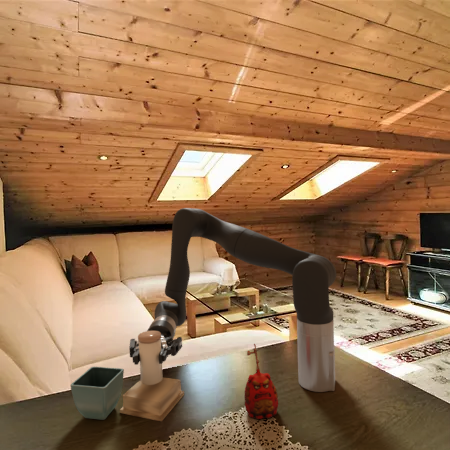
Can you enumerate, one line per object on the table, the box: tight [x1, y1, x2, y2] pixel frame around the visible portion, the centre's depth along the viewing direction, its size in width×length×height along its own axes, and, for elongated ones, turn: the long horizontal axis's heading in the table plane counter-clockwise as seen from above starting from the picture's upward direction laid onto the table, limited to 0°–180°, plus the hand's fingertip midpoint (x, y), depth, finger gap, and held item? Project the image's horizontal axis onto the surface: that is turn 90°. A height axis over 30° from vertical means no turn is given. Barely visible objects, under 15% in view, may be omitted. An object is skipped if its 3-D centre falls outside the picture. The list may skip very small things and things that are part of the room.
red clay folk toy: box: [244, 343, 279, 420], centre depth 77 cm, size 8×7×15 cm
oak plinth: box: [119, 377, 185, 422], centre depth 82 cm, size 11×11×4 cm
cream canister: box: [137, 330, 163, 385], centre depth 82 cm, size 5×5×11 cm
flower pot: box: [70, 366, 125, 421], centre depth 79 cm, size 9×9×9 cm
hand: (148, 360), depth 79 cm, fingers closed on cream canister, 5 cm apart
